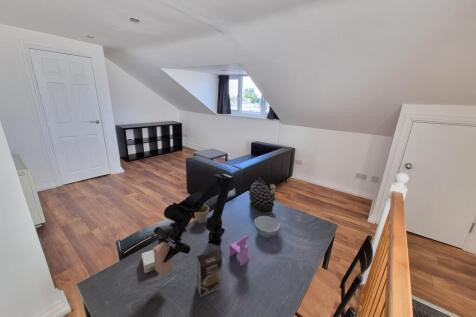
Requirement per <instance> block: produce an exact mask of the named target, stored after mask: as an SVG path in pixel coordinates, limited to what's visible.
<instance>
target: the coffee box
mask: <svg viewBox="0 0 476 317" xmlns="http://www.w3.org/2000/svg"><path fill="white" fill-rule="evenodd" d="M222 266H223V259H222V258H221V255H220V254H219V252H218V249H215V250H212V251H209V252H205V253H202V254H201V255H197V256H196V288H197V291H198V293H199V296H200V297H201V298H202V297H204V296H207V295H208V294H211V293H213V292H214V293H215V292H216V291H218V290H221V287H222V271H223V270H222Z"/></svg>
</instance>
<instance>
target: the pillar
mask: <svg viewBox="0 0 476 317" xmlns="http://www.w3.org/2000/svg"><path fill="white" fill-rule="evenodd" d="M170 246H171V245H170V244H169V243H168V244H167V243H166V242H165V241H163V242H161V243H160V244H157V245H155V246H154V247H152V250H154V260H155V270H154V271H156V273H158V274H159V275H160V276H161V277H164V276H165V275H167V274H168V273H169V272H171V270H173V268H174V267H173V257H172V258H171V259H169V260H168V261H167V262H166V263H163V261H164V259H165V257H166V255H167V254H168V252H169V250H170Z"/></svg>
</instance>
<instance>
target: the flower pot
mask: <svg viewBox="0 0 476 317" xmlns="http://www.w3.org/2000/svg"><path fill="white" fill-rule="evenodd" d="M209 211H210V207H209V206H208V205H206V204H203V206H202V207H201V209H200V210H199V211H198V212H194V213H195V219H196V222H197V223H199V224H202V223H206V222H207V218H208V212H209Z"/></svg>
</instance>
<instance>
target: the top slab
mask: <svg viewBox="0 0 476 317" xmlns="http://www.w3.org/2000/svg"><path fill="white" fill-rule="evenodd" d="M142 258H143V262H142V264H143V263H144V267H143V269H144V268H145V269H148V268H151V267H153V266H155V260H154V250H153V249H151V250H149V251H145V252H142V253H141V259H142Z"/></svg>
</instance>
